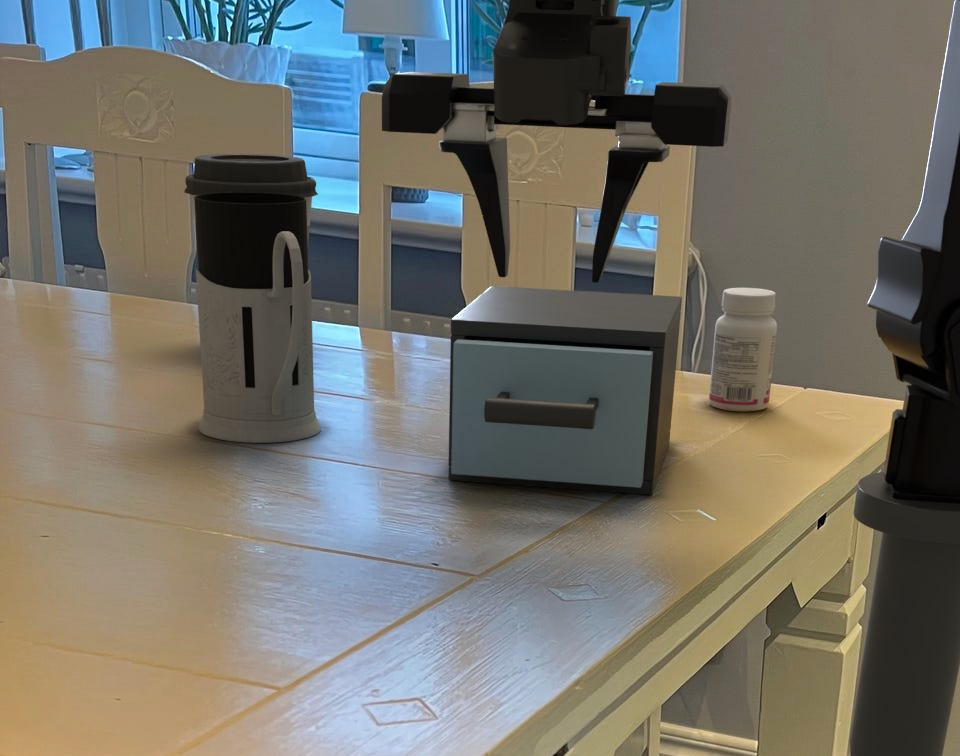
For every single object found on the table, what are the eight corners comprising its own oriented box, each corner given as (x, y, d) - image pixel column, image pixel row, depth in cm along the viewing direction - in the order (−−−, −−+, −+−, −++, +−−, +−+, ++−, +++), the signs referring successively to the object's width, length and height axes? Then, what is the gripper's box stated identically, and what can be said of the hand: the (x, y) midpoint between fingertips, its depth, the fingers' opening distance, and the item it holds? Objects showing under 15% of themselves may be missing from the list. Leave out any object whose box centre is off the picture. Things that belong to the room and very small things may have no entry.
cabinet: (652, 495, 102) (665, 332, 97) (448, 480, 103) (450, 319, 98) (669, 443, 114) (682, 296, 109) (486, 431, 116) (491, 285, 111)
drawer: (634, 507, 95) (644, 369, 91) (436, 492, 97) (438, 356, 93) (658, 439, 111) (668, 318, 107) (487, 428, 112) (490, 308, 108)
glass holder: (298, 411, 120) (292, 190, 112) (365, 455, 109) (362, 213, 101) (184, 419, 116) (169, 191, 109) (241, 465, 105) (228, 215, 98)
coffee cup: (290, 363, 136) (284, 166, 128) (170, 352, 139) (157, 159, 131) (341, 341, 145) (338, 157, 137) (227, 331, 148) (218, 150, 140)
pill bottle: (736, 397, 129) (748, 284, 124) (780, 407, 126) (794, 293, 121) (695, 403, 126) (705, 289, 122) (739, 415, 123) (752, 297, 119)
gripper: (355, -53, 78) (358, 289, 86) (737, -41, 76) (703, 310, 84) (404, -45, 88) (403, 263, 96) (745, -34, 85) (714, 281, 93)
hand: (549, 279), depth 92 cm, fingers open, 5 cm apart
